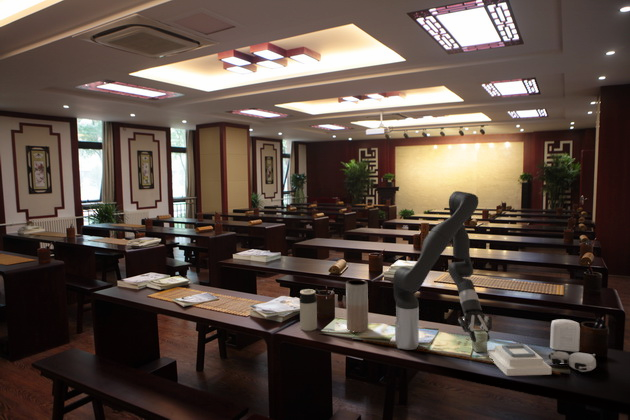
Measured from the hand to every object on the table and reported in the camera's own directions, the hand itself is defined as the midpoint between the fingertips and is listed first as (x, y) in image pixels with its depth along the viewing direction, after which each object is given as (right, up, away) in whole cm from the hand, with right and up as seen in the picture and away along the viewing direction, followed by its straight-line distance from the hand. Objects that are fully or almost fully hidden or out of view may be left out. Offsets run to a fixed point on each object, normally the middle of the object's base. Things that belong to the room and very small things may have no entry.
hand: (481, 341), depth 167 cm
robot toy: (+28, -6, -13) cm, 32 cm away
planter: (-47, -4, +28) cm, 55 cm away
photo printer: (+34, -4, +1) cm, 34 cm away
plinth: (+9, -5, -11) cm, 15 cm away
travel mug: (-70, -4, +31) cm, 77 cm away
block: (0, -4, +2) cm, 4 cm away
